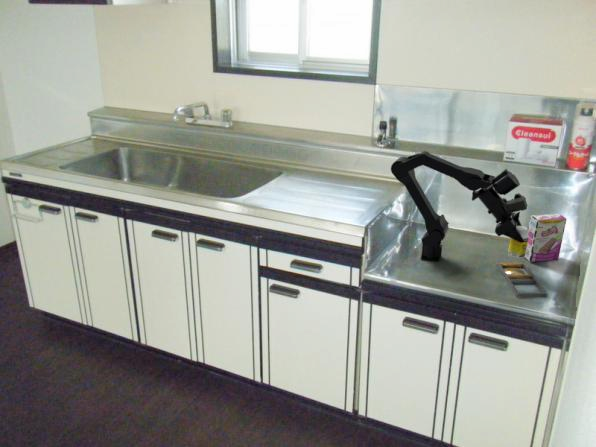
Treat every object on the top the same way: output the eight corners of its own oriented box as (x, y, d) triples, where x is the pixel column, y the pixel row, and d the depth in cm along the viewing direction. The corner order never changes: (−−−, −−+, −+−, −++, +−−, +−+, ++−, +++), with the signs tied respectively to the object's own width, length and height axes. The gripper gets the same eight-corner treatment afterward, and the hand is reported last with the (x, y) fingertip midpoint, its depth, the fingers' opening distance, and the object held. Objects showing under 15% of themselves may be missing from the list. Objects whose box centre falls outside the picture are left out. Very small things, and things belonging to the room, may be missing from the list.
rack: (547, 297, 181) (547, 294, 181) (516, 297, 182) (516, 293, 181) (523, 265, 202) (524, 262, 201) (496, 265, 202) (496, 262, 201)
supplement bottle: (521, 261, 191) (526, 232, 187) (505, 256, 194) (509, 228, 190) (527, 255, 195) (532, 227, 191) (510, 250, 198) (515, 223, 194)
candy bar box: (530, 263, 203) (537, 220, 197) (522, 257, 208) (529, 215, 201) (559, 260, 205) (567, 218, 198) (551, 254, 209) (558, 212, 203)
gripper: (511, 197, 179) (543, 236, 179) (517, 180, 195) (546, 215, 195) (481, 217, 185) (512, 254, 186) (489, 198, 201) (518, 233, 201)
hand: (523, 238), depth 192 cm, fingers closed on supplement bottle, 5 cm apart
